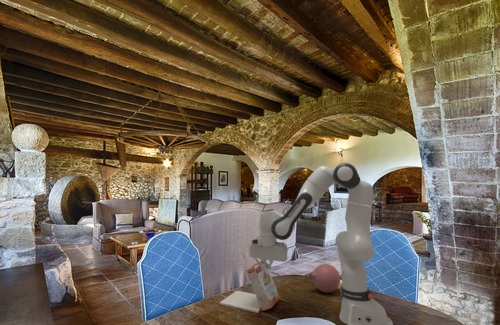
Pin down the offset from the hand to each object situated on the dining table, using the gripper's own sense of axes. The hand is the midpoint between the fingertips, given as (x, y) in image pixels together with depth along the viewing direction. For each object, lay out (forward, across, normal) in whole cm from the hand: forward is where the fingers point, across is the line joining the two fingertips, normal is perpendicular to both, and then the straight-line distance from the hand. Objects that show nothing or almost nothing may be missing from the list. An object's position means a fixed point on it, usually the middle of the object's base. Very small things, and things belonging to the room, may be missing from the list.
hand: (268, 268), depth 143 cm
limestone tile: (+19, +12, 0) cm, 23 cm away
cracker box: (+18, -2, 0) cm, 18 cm away
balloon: (+19, -20, -32) cm, 42 cm away
